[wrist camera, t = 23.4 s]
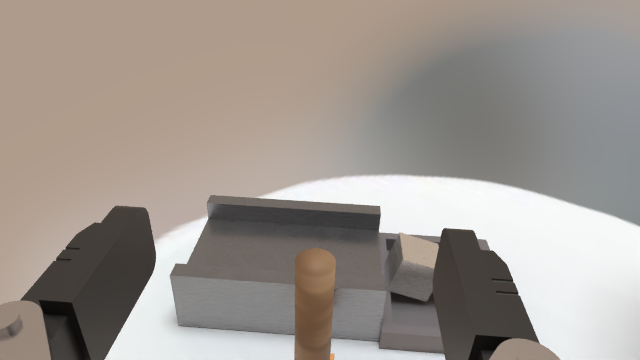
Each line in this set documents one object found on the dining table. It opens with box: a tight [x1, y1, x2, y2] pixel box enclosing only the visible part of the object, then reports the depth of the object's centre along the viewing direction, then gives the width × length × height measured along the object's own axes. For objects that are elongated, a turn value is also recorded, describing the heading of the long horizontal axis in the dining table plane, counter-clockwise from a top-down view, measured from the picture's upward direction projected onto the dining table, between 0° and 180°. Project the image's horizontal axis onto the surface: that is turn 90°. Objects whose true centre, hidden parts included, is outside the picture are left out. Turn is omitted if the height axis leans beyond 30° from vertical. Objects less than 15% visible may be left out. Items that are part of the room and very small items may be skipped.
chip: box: [384, 233, 439, 301], centre depth 44 cm, size 4×4×4 cm
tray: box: [379, 233, 490, 353], centre depth 46 cm, size 12×14×2 cm
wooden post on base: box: [295, 248, 336, 360], centre depth 31 cm, size 3×6×15 cm, turn 176°
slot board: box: [170, 195, 386, 341], centre depth 45 cm, size 18×12×6 cm
